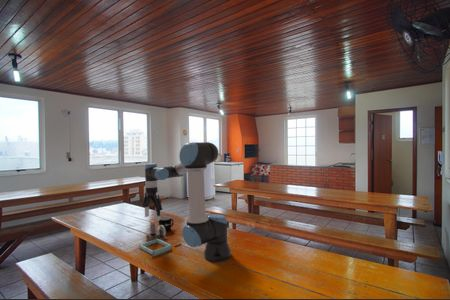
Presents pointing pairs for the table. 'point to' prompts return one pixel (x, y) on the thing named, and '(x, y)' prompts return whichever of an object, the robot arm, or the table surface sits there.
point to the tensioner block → (157, 234)
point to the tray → (158, 251)
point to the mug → (166, 222)
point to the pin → (152, 228)
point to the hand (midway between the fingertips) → (152, 218)
